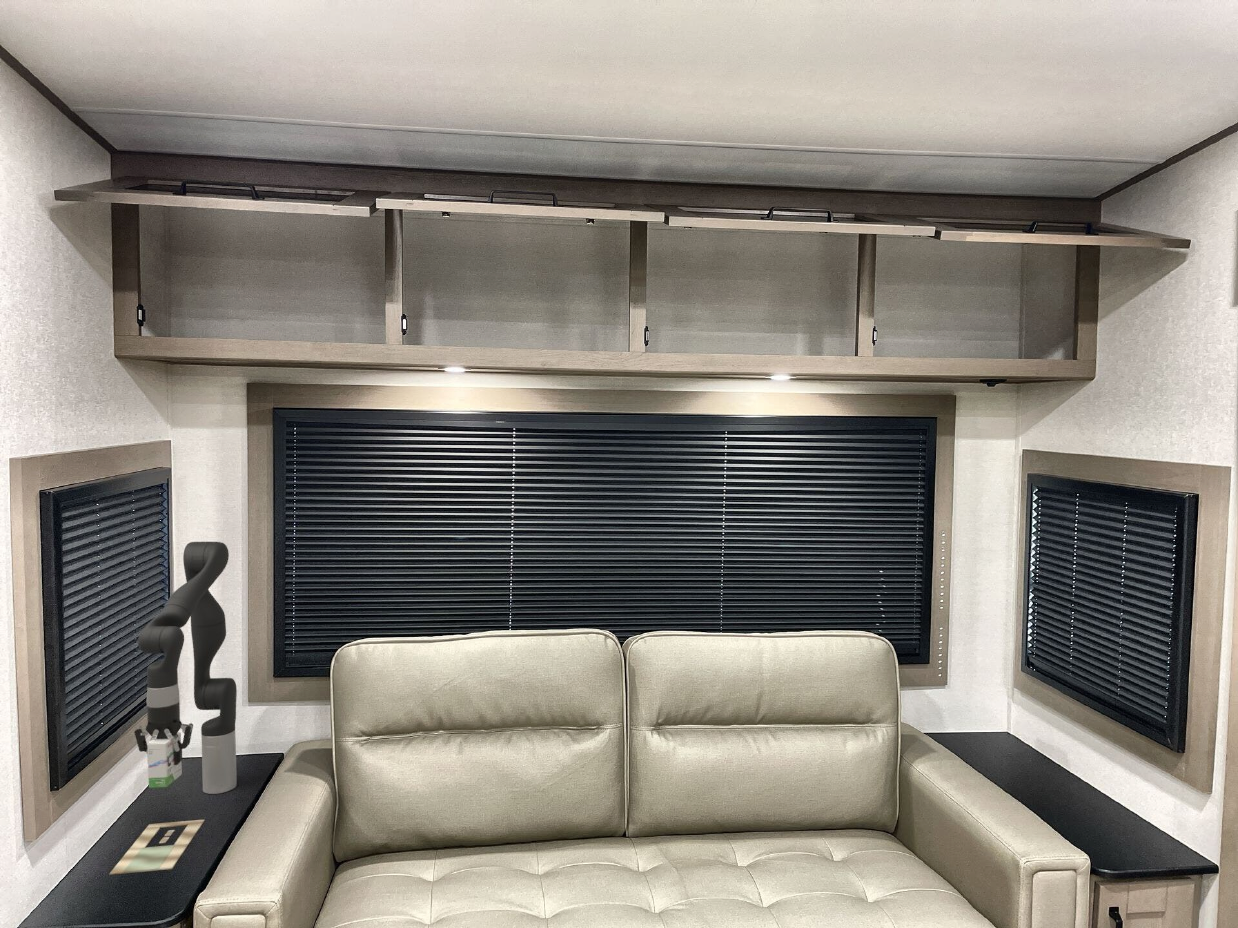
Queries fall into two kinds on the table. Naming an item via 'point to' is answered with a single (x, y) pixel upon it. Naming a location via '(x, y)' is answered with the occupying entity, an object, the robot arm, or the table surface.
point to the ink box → (162, 763)
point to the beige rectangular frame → (156, 849)
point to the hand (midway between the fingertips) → (165, 764)
